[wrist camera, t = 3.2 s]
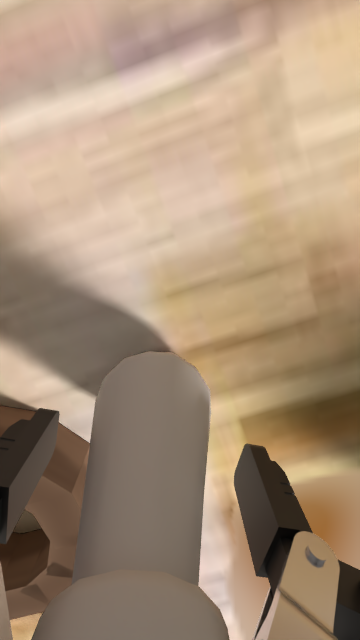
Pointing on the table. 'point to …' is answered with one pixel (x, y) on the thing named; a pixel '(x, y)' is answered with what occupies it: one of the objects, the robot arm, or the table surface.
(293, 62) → the table surface
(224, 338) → the table surface
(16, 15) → the table surface
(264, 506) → the robot arm
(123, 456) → the salt shaker
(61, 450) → the walnut ring
